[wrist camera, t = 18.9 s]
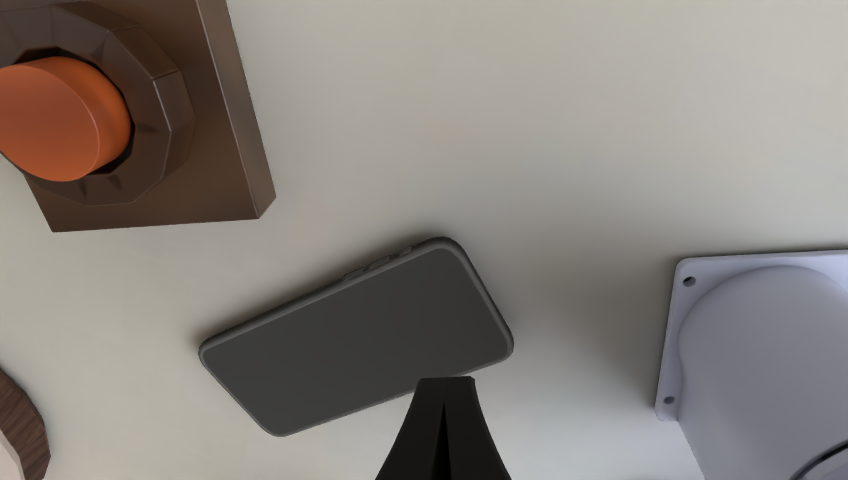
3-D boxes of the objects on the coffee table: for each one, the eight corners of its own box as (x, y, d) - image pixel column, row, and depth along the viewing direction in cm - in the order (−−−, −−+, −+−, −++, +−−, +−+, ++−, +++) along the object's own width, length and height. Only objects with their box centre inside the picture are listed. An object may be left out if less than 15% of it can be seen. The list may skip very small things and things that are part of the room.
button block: (277, 197, 22) (241, 241, 18) (86, 211, 23) (18, 255, 19) (208, -71, 17) (142, -82, 14) (-28, -40, 18) (-146, -42, 15)
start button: (147, 159, 18) (117, 177, 16) (53, 167, 18) (14, 185, 16) (106, 50, 16) (68, 59, 14) (3, 61, 16) (-45, 71, 15)
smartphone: (185, 351, 25) (451, 233, 21) (194, 339, 26) (451, 223, 22) (273, 444, 28) (523, 357, 24) (279, 430, 29) (522, 344, 25)
